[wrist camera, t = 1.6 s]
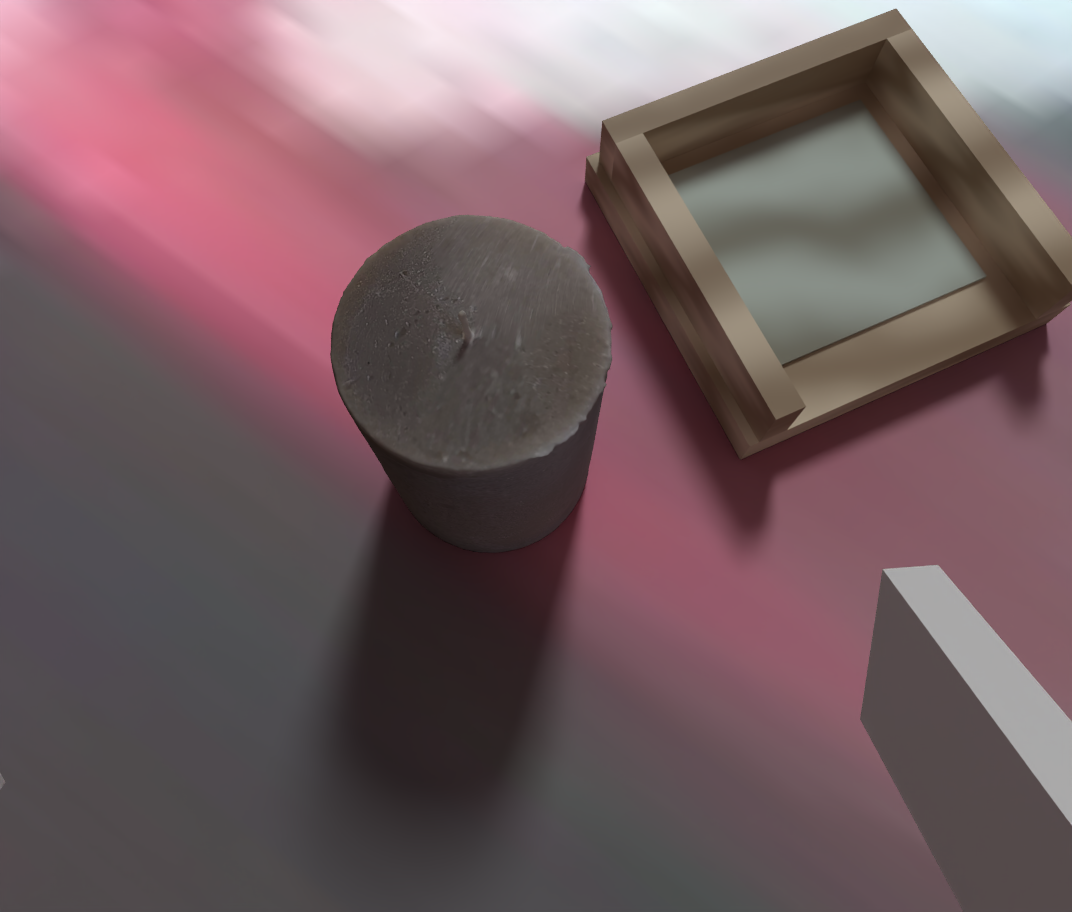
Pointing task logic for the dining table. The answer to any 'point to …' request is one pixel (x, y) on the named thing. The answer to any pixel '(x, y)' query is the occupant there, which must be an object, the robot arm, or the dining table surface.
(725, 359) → the wooden tray
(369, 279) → the pillar candle
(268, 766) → the dining table surface
